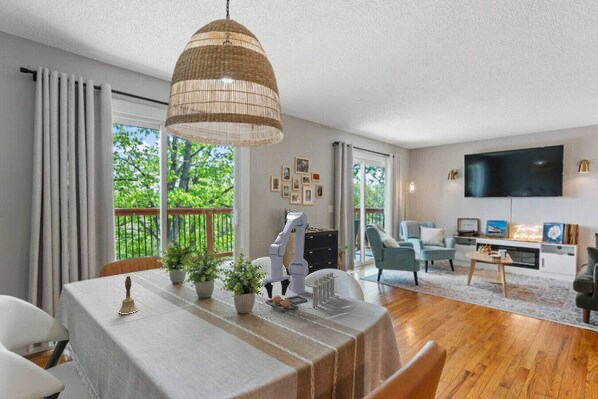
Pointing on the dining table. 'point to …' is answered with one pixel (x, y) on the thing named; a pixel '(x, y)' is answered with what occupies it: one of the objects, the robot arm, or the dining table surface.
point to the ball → (285, 303)
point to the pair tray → (279, 306)
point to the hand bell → (128, 299)
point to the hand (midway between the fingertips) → (276, 296)
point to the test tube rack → (323, 290)
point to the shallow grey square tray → (296, 299)
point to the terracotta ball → (276, 299)
